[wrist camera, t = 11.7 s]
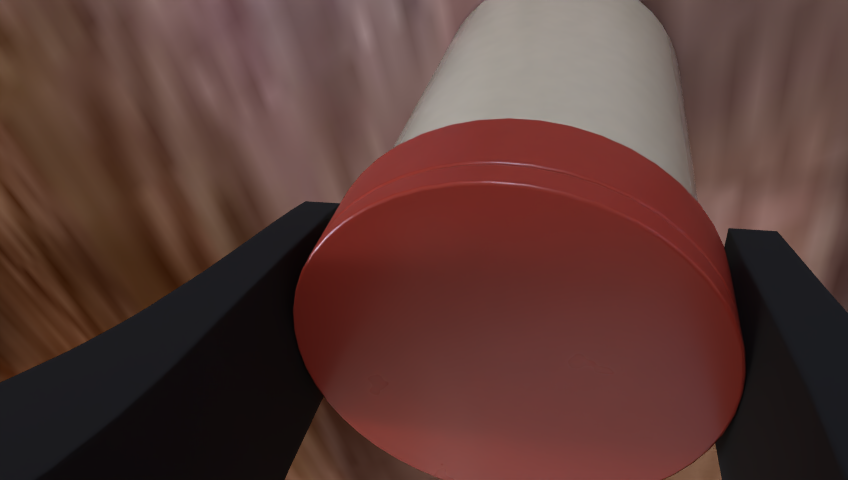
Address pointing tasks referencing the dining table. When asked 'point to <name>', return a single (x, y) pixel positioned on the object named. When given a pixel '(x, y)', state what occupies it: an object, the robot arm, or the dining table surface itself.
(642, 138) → the jam jar
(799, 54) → the dining table surface
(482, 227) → the jar lid
